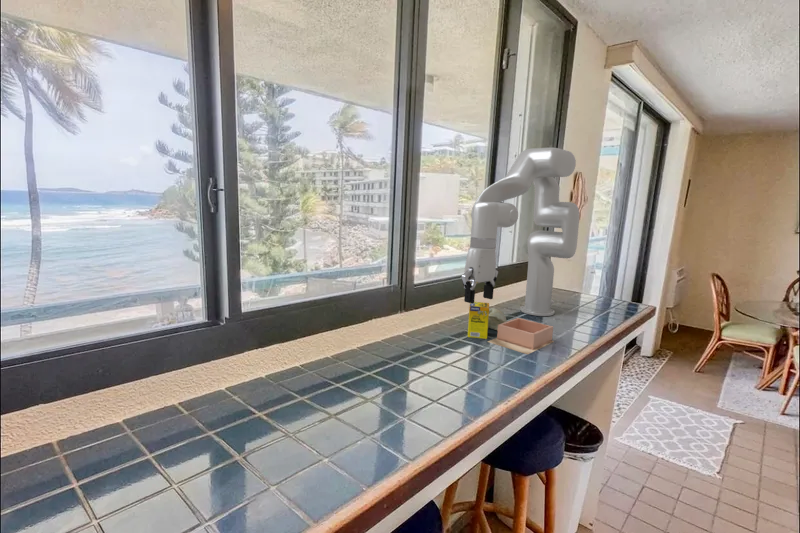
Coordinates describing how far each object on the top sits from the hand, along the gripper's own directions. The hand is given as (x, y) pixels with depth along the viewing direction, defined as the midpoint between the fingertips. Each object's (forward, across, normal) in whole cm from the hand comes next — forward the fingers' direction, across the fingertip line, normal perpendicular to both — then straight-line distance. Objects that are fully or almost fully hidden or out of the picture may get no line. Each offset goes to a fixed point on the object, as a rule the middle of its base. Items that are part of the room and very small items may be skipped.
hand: (478, 300), depth 123 cm
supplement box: (+12, -1, 0) cm, 12 cm away
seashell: (+12, -11, -3) cm, 17 cm away
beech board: (+12, -6, +12) cm, 18 cm away
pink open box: (+11, -8, +12) cm, 18 cm away
